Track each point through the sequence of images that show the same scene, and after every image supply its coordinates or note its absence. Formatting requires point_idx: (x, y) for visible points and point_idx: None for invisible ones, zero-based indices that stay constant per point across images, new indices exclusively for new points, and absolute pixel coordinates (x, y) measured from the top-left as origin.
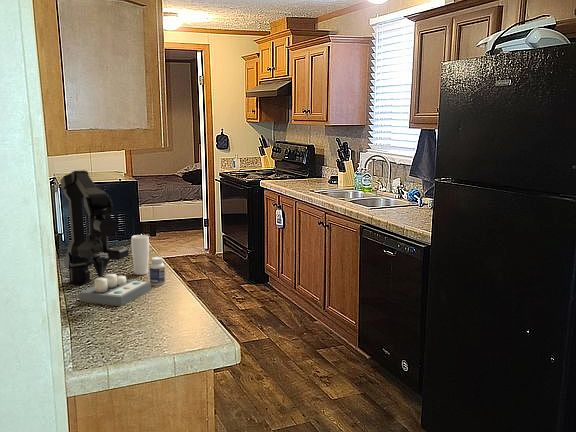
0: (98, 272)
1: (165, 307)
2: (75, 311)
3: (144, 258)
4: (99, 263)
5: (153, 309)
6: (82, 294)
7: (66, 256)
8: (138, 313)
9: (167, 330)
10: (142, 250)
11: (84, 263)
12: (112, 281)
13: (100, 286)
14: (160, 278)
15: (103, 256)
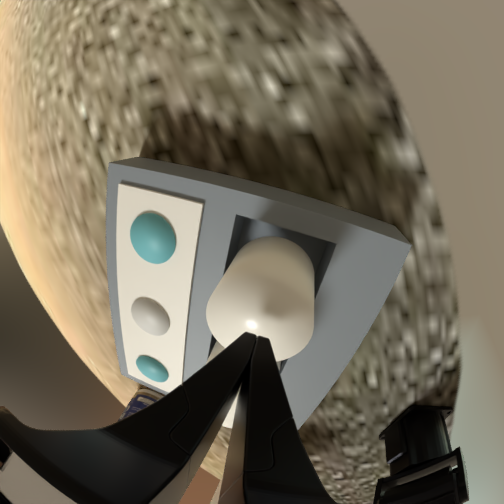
0: (254, 364)
1: (28, 179)
2: (348, 50)
3: (218, 494)
4: (169, 445)
5: (42, 151)
6: (387, 233)
7: (467, 486)
8: (64, 96)
9: (12, 33)
10: None
11: (403, 482)
12: (216, 354)
13: (252, 255)
14: (129, 404)
15: (33, 494)
